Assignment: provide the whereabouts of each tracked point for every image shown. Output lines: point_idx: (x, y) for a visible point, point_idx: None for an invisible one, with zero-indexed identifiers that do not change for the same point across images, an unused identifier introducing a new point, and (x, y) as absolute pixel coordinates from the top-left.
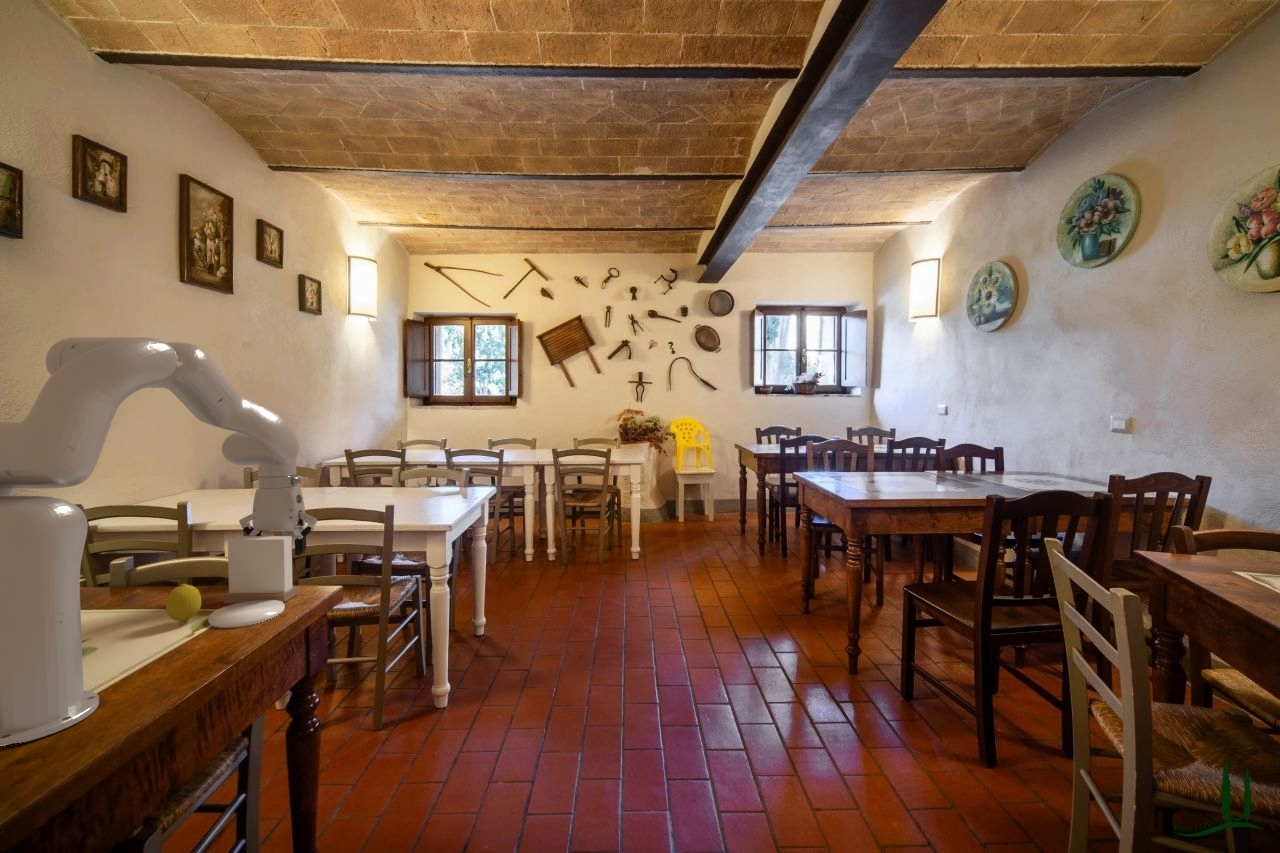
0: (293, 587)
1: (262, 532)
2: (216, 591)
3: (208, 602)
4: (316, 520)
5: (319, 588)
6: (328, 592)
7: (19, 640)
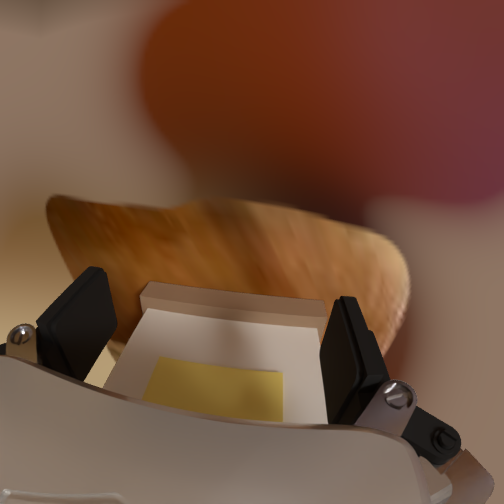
0: (318, 325)
1: (37, 355)
2: (72, 236)
3: (116, 314)
4: (484, 487)
5: (372, 247)
6: (402, 286)
7: None
